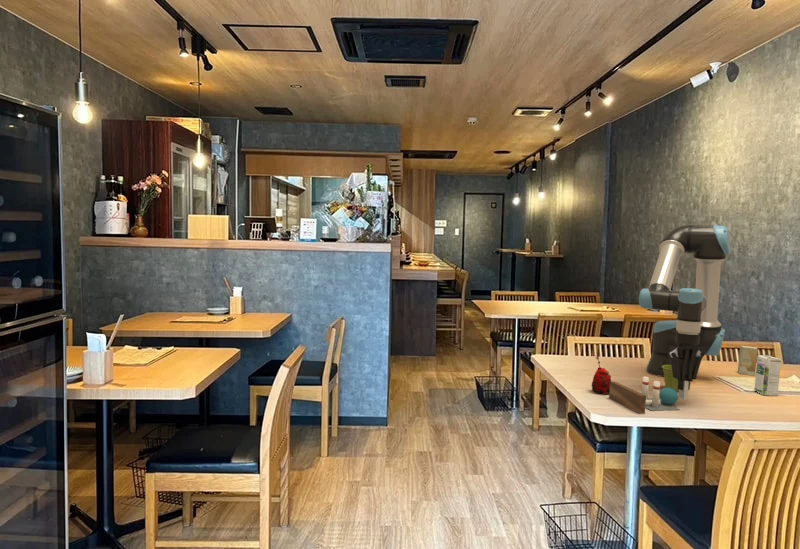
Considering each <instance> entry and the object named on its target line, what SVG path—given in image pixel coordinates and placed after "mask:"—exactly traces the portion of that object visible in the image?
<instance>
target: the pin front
mask: <svg viewBox="0 0 800 549" xmlns="http://www.w3.org/2000/svg"><path fill="white" fill-rule="evenodd" d="M660 401H661V400H660V399H659V404H658V405H661V402H660ZM645 406H652V400H646V405H645Z"/></svg>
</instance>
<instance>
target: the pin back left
mask: <svg viewBox="0 0 800 549" xmlns="http://www.w3.org/2000/svg"><path fill="white" fill-rule="evenodd" d="M652 384H653V385H652V397H651V398H652V407H654V408H658V404H659V400H660V397H659V394H660V391H661V390H660V388H661V381H659V380H654V381H653V383H652Z"/></svg>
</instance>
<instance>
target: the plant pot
mask: <svg viewBox="0 0 800 549" xmlns="http://www.w3.org/2000/svg"><path fill="white" fill-rule="evenodd" d="M662 368H663V371H664V377H663V378H664V388H672V389H674V390H675V391H676V392H679V389H678V379H676V378H674V377H673V373H672V366H671V365H663V366H662Z"/></svg>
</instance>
